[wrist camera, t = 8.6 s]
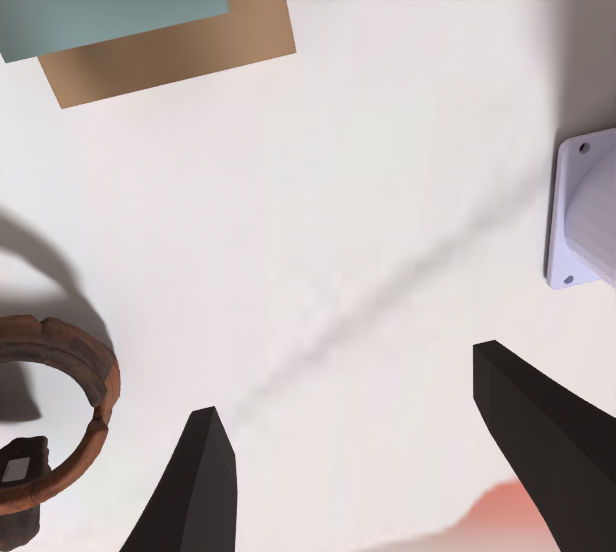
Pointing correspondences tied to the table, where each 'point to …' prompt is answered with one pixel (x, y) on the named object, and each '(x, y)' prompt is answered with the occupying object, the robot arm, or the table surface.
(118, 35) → the cube
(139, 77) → the slab
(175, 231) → the table surface
